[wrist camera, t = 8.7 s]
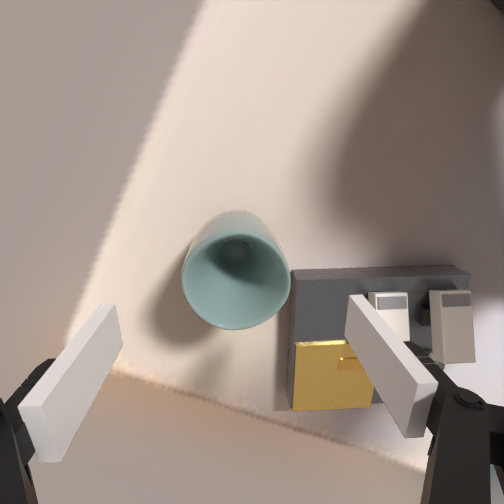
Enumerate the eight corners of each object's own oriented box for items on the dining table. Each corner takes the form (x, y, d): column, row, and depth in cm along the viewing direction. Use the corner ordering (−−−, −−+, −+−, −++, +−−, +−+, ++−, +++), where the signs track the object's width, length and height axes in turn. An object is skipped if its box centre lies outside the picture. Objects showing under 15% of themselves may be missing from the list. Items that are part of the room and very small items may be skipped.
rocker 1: (367, 292, 30) (376, 294, 28) (398, 291, 30) (408, 292, 28) (371, 361, 30) (379, 367, 28) (401, 360, 30) (411, 366, 28)
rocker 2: (428, 290, 30) (440, 291, 29) (458, 289, 31) (471, 290, 29) (433, 358, 30) (445, 364, 28) (462, 357, 30) (476, 362, 28)
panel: (292, 269, 31) (298, 283, 28) (453, 265, 32) (476, 278, 29) (286, 392, 37) (291, 415, 34) (422, 385, 38) (438, 407, 35)
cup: (248, 187, 28) (256, 209, 19) (286, 251, 31) (310, 299, 21) (181, 228, 29) (157, 268, 20) (223, 287, 32) (219, 347, 22)
